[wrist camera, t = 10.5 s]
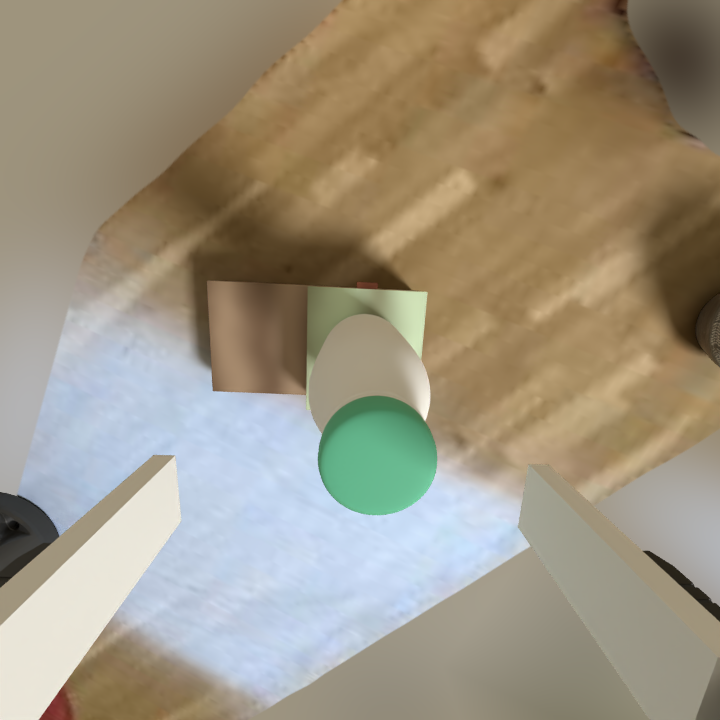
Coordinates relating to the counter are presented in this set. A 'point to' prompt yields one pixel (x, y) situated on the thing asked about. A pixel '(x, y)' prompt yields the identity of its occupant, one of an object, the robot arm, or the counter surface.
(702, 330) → the planter
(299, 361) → the plinth
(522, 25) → the counter surface
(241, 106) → the counter surface
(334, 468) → the milk bottle
